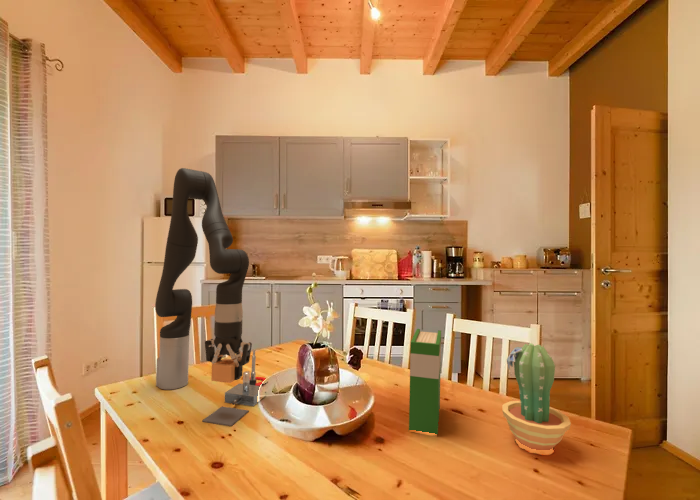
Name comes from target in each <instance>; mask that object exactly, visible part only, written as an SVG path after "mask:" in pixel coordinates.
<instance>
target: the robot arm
mask: <svg viewBox="0 0 700 500" xmlns="http://www.w3.org/2000/svg"><path fill="white" fill-rule="evenodd" d="M173 180H174V181H173V187H172V188H173V189H172V190H173V191H172V204H171V205H172V206H171V216H170V222H169V223H170V224H169V229H168V234H167V238H166V244H165V252H164V261H163V265H162V266H163V267H162V272H161V277H160V282H159V285H158V289H157V292H156V298H155V304H154V305H155V306H154V309H155V313H156V315H157V317H160V318H170V317H176V318H175V319H173V321H172V322H170V323H168V324H166V325H164V326H162V327H161V328H160V330H159V354H158V355H159V356H158V357H157V358H156V366H155V367H156V369H155V370H156V371H155V372H156V374H155V387H158V388H159V389H161V390H176V389H179V388H180V389H181V388H183V387H185V386H187V385H188V384H189V365H190V364H189V360H190V359H189V358H190V330H191V325H192V324H191V323H192V313H193V312H192V311H193V295H192V293H191V291H190V290H189V289H187V288H178V289H174V286H175V284H176V282H177V280H178V279H179V278H180V276H181V275H182V274H183V272H185V270H187V268H189V266H190V265H191V264H192V262H193V261H194V259H195V257H196V254H197V249H198V242H199V237H198V233H197V231H196V228H195V227H194V224H193V223H192V220H191V219H190V215H189V212H188V201H189V199H190V200H191V199H192V200H199V201H200V200H201V201H203V203H204V204H205V206H206V208H205V211H204V213H203V216H202V219H201V230H202V231H203V234H204V237H205V240H206V241H207V244H208V251H209V266H210V268H211V269H212V270H213V272H215V273H216V274H222V275H230V276H229V278H228V279H227V280H225V281H222V282H219V283H218V284H217V286H216V291H215V308H214V330H213V334H214V339H213V338H209V339H208V340H204V347H205V360H206V361H207V362H209V363H211V365H212V364H214V363H216V362H218V361H220V360H222V359H223V357H224V356H229V357H230V359H232V360H233V361H234V364H235V366H236V367H235V378H234V379H235V381H239V380H240V379H241V377H242V378H243V373H242V366H245V365H246V364H249V363H250V360H251V352H252V345H253V343H252V342H245V341H243V339H242V335H243V313H244V311H243V287H244V283H245V280H246V276H247V274H248V270H249V266H250V258H249V256H248V254H247V252H246V251H245V250H243V249H240V248H239V249H238V248H237V249H236V248H232V249H231V248H229V247H231V246H232V245H233V242H234V238H233V237H234V236H233V234H232V232H231V230H230V228H229V226H228V224H227V222H226V220H225V217H224V214H223V210H222V208H221V207H222V205H221V203H220V202H221V201H220V198H219V193H218V190H217V186H216V182H215V179H214V177H213V176H212V175H211V174H210V173H209V172H206V171H202V170H195V169H192V168H191V169H190V168H186V167H181V168H179V169H178V170H177V171H176V173H175V177H174V179H173ZM215 347H216V349H215ZM240 348H241V349H240Z"/></svg>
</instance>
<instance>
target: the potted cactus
mask: <svg viewBox="0 0 700 500" xmlns="http://www.w3.org/2000/svg"><path fill="white" fill-rule="evenodd" d="M512 349H513V350H512V351H511V352H510V353H509V355H508V357H507V359H506V364H507V368H508V370H511V368H512V367H513V368H514V376H515V378H516V382H517V385H518V390H519V400H510V401H507V402H505V403H503V404H502V415H503V417H504V418H505V419H506V422H507V425H508V427H509V430H510V432H511V433H512V435H513V436H514V439H515V438H516V439H517V440H518V441H519V442H520V443H521V444H523V445H525V446H527V447H529V448H531V449H536V450H550V449H552V448H553V447H554V448H555V447H556V446H557V445H558V444H559V443H560V442H561V441H562V439H563V437H564V435H565V433H566V432H567V431H569V430H570V428H571V426H572V425H571V424H572V422H571V420H570V418H569V416H568V415H567V414H565V413H563V412H562V411H561V410H559V409H557V408H554V407H552V406H550V405H551V404H550V402H551V401H550V400H551V397H550V396H551V389H552V387H553V384H554V381H555V370H556V364H555V362H554V360H553V358H552V357H551V355H550V354H549V352H548V351H547V350H546V347H544V346H542V345H541V344H535V345H534V344H533V343H529V344H526V343H525V344H524V345H523V346H522V347H521V346H516V347H514V348H512Z"/></svg>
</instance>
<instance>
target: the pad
mask: <svg viewBox="0 0 700 500" xmlns="http://www.w3.org/2000/svg"><path fill="white" fill-rule="evenodd" d="M249 412H250V410H249V409H242V408H234V407H230V406H229V407H228V406H221V407H219V408H218V409H216V410H215V411H213V412H211V413H210V414H209V415H208V416H206V417H205V418H204V419H202V422H203V423H206V424H207V423H208V424H213V425H214V424H215V425H218V426H219V425H220V426H226V427H232V426H233V425H235V424H236V423H238V422H239V421H240V420H241V419H242V418H244V417H245V416H246V415H247V414H248V413H249Z"/></svg>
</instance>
